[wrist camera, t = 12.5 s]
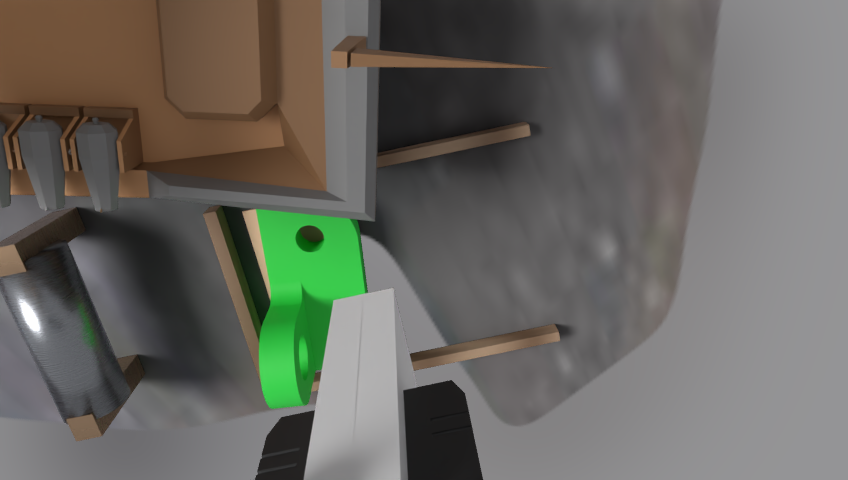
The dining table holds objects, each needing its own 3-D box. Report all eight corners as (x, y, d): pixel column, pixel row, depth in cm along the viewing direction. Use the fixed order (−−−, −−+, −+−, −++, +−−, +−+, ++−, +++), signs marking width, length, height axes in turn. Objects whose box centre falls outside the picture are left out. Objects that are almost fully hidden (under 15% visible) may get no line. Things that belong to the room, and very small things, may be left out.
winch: (106, 381, 44) (57, 445, 38) (34, 216, 40) (-37, 254, 33) (161, 370, 44) (121, 432, 37) (94, 203, 40) (35, 239, 33)
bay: (271, 390, 45) (267, 402, 44) (203, 189, 40) (196, 196, 38) (555, 332, 45) (561, 342, 43) (524, 121, 39) (530, 125, 38)
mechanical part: (375, 349, 44) (371, 417, 37) (290, 358, 44) (270, 428, 37) (354, 186, 40) (345, 224, 33) (261, 195, 40) (231, 235, 32)
